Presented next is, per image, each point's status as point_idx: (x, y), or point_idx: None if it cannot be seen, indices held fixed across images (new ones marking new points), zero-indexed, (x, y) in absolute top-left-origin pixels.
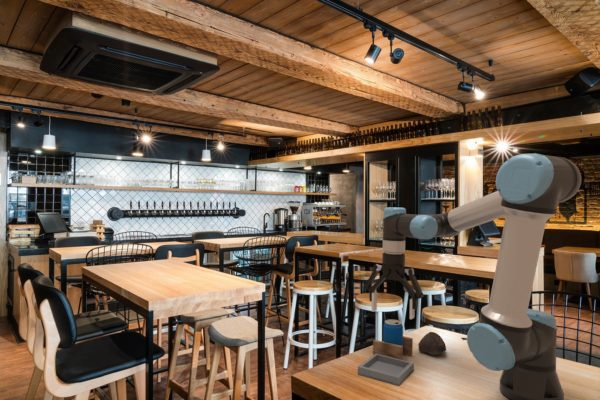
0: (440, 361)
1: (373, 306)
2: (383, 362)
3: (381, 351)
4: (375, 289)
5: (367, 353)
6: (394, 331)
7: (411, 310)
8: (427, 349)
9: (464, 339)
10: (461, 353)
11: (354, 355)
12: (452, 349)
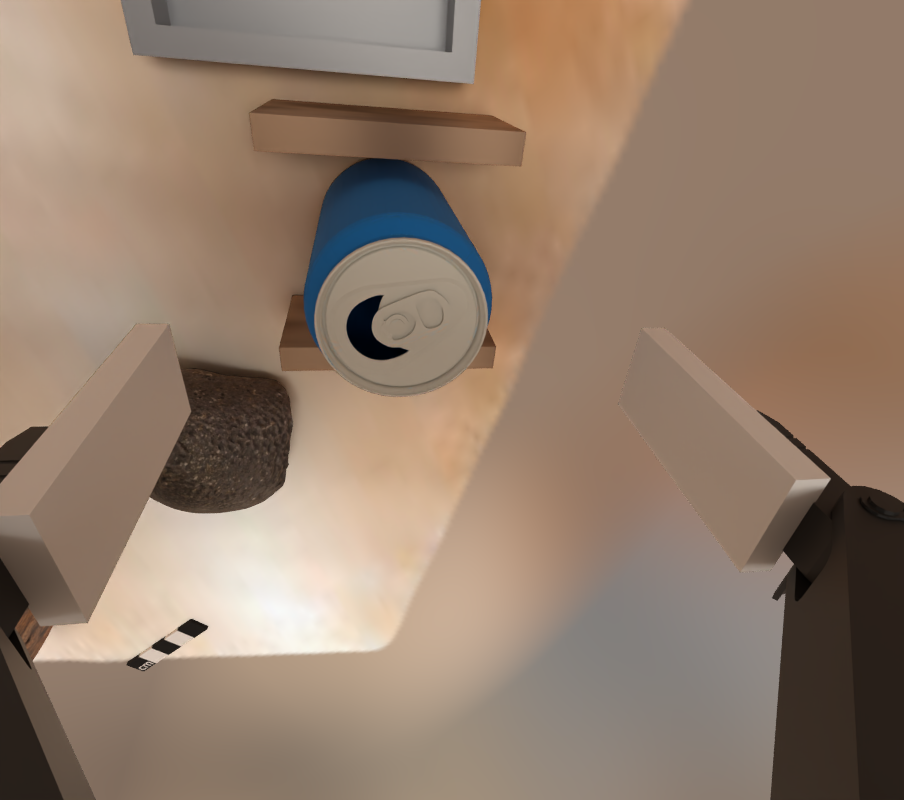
0: (116, 327)
1: (674, 358)
2: (391, 44)
3: (436, 118)
4: (793, 589)
5: (548, 185)
6: (350, 216)
7: (92, 386)
8: (215, 383)
9: (187, 622)
10: None
11: (620, 94)
12: (166, 507)
